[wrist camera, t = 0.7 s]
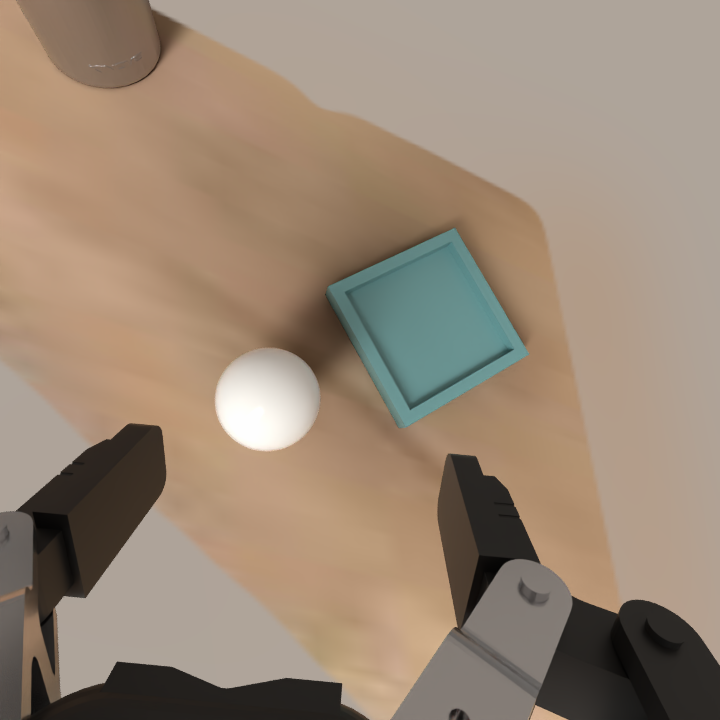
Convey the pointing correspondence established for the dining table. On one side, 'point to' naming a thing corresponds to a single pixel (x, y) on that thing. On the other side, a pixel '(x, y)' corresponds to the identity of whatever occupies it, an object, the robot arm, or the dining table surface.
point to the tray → (425, 326)
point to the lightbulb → (267, 399)
